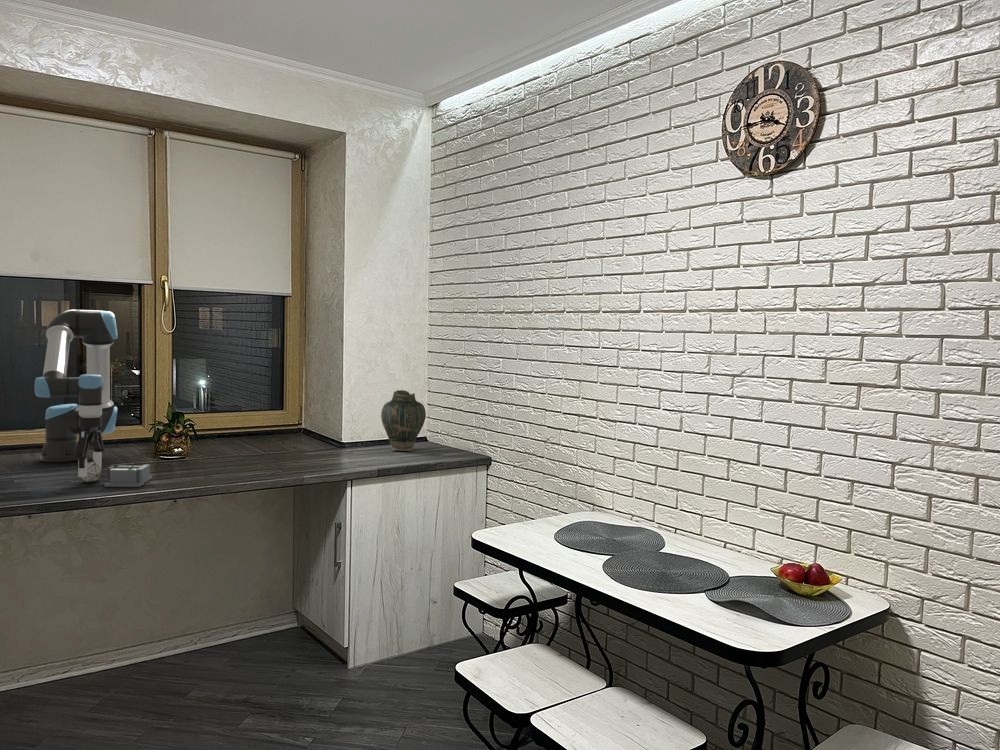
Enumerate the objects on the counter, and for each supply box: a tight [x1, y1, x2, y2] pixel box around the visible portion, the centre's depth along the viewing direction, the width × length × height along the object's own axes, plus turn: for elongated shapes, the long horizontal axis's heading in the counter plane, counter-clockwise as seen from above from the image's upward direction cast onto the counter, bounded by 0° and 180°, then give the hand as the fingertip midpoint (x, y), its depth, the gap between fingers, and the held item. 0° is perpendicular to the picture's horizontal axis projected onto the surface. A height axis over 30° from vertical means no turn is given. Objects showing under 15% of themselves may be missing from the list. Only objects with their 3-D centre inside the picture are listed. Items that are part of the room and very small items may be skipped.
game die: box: [74, 459, 106, 485], centre depth 268 cm, size 9×8×10 cm
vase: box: [380, 389, 427, 452], centre depth 361 cm, size 22×22×30 cm
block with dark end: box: [107, 465, 135, 481], centre depth 269 cm, size 7×9×5 cm
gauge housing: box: [104, 464, 153, 488], centre depth 270 cm, size 14×12×6 cm
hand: (90, 472), depth 268 cm, fingers open, 13 cm apart
